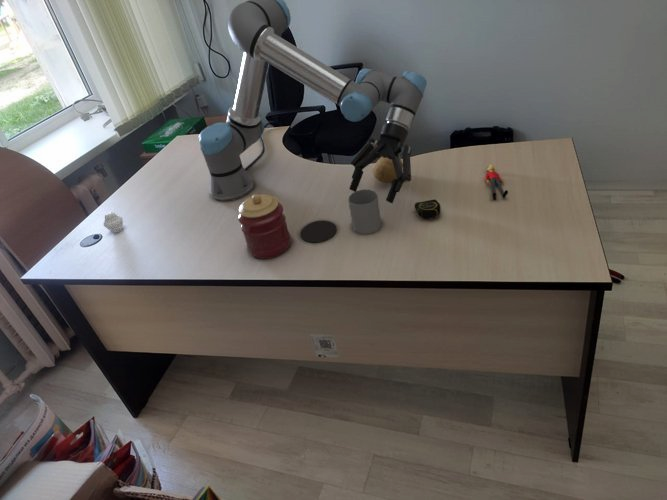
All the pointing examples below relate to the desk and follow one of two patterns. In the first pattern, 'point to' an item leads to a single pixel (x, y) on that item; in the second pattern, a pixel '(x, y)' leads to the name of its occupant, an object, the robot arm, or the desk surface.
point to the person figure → (495, 181)
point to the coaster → (318, 231)
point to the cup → (364, 211)
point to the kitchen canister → (264, 226)
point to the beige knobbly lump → (113, 222)
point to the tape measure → (428, 209)
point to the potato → (385, 170)
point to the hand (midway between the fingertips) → (370, 196)
